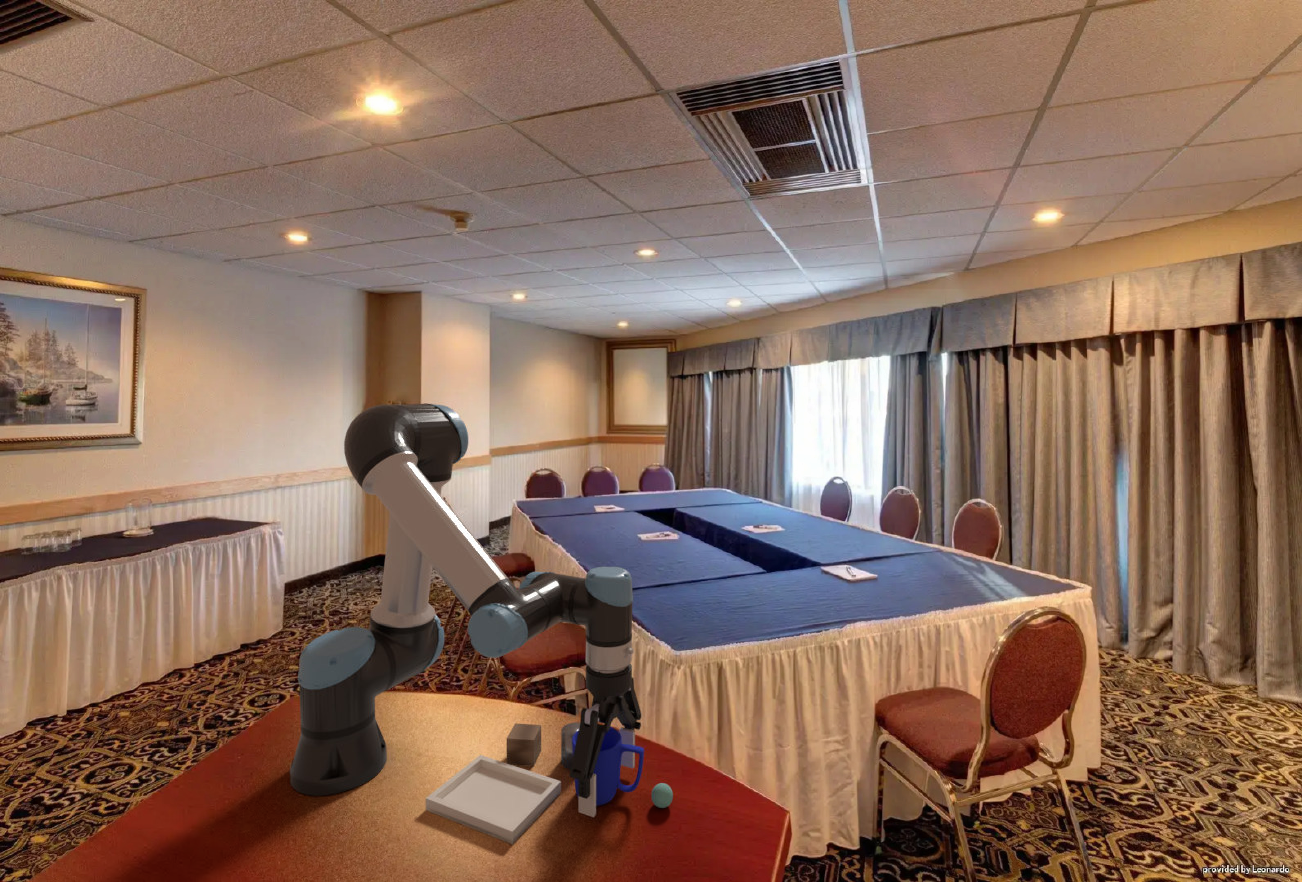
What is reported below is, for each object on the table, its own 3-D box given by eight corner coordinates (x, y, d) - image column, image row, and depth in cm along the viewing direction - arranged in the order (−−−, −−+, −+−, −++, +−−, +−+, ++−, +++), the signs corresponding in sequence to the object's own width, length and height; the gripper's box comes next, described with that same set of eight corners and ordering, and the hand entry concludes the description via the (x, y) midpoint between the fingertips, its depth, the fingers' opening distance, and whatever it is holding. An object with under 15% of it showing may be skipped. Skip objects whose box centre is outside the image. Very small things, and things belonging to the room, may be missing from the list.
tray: (425, 809, 97) (425, 798, 97) (480, 765, 109) (480, 754, 109) (512, 844, 90) (512, 831, 90) (560, 792, 102) (560, 781, 102)
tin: (555, 765, 109) (555, 733, 109) (570, 750, 114) (570, 719, 113) (579, 772, 107) (579, 740, 107) (593, 757, 112) (594, 726, 111)
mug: (637, 819, 96) (638, 758, 95) (564, 807, 98) (564, 748, 97) (648, 786, 104) (649, 730, 103) (580, 776, 106) (580, 721, 105)
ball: (647, 808, 98) (648, 788, 98) (656, 796, 101) (656, 776, 101) (667, 815, 97) (668, 794, 97) (675, 802, 100) (676, 781, 100)
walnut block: (506, 765, 109) (506, 738, 109) (515, 748, 114) (515, 723, 114) (533, 766, 109) (533, 740, 109) (541, 750, 114) (541, 724, 114)
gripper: (590, 703, 86) (589, 845, 88) (660, 640, 109) (659, 753, 111) (545, 692, 89) (546, 829, 91) (623, 632, 112) (622, 743, 114)
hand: (608, 788), depth 101 cm, fingers open, 13 cm apart
